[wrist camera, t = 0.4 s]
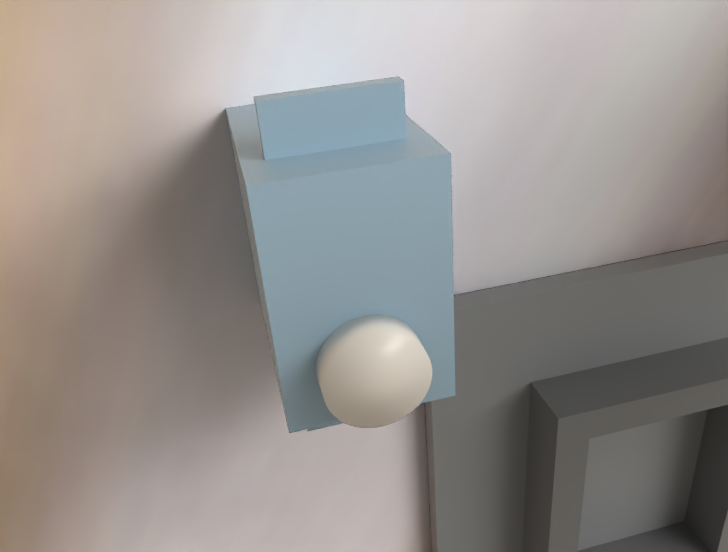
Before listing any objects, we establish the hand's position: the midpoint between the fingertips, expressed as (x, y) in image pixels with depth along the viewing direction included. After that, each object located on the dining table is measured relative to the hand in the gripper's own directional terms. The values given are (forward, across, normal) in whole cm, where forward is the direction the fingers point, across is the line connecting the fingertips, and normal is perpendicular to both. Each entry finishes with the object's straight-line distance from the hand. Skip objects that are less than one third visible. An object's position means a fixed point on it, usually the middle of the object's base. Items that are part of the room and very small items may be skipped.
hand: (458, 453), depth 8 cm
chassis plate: (+12, -10, +16) cm, 22 cm away
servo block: (+12, 0, +2) cm, 13 cm away
